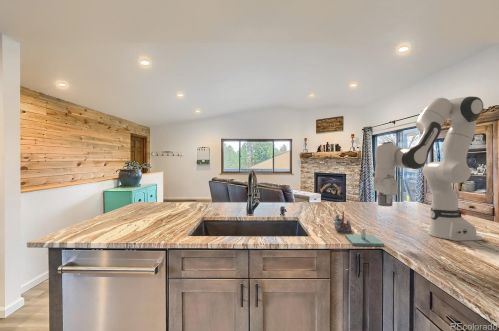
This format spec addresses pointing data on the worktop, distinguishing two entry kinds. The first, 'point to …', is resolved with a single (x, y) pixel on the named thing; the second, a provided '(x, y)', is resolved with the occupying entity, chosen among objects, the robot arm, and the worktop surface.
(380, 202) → the hub
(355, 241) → the shaft block
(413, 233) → the worktop surface
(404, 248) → the worktop surface
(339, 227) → the grey red spired figurine
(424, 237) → the worktop surface
